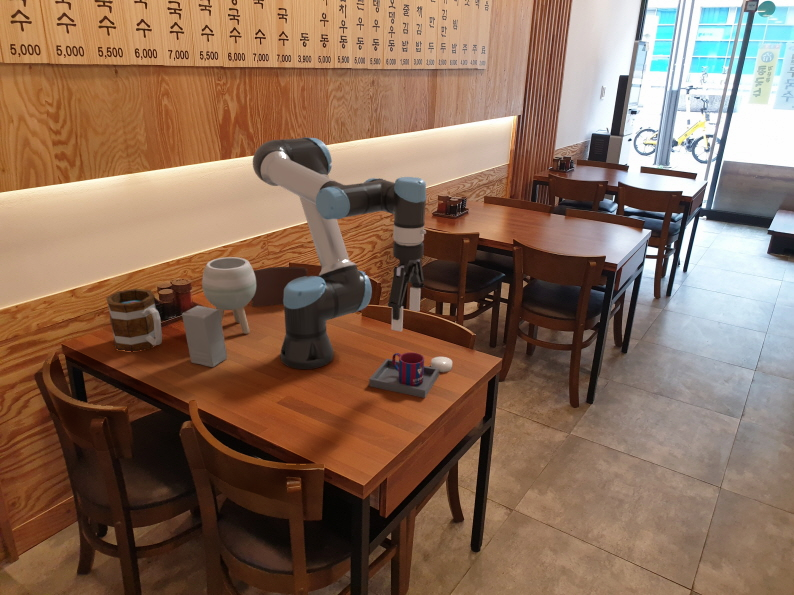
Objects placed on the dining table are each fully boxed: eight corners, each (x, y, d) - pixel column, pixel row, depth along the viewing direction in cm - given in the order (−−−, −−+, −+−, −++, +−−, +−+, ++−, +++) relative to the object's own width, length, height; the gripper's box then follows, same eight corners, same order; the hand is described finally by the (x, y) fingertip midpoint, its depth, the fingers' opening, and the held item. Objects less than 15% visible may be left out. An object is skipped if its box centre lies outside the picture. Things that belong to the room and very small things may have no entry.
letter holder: (308, 303, 209) (307, 266, 204) (252, 307, 204) (249, 269, 199) (305, 293, 218) (304, 257, 213) (251, 297, 213) (248, 260, 208)
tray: (369, 386, 155) (369, 379, 154) (386, 365, 166) (386, 358, 165) (424, 398, 150) (425, 390, 149) (438, 375, 161) (439, 368, 160)
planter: (242, 315, 197) (236, 252, 189) (269, 329, 187) (264, 263, 179) (198, 328, 186) (190, 262, 178) (224, 345, 176) (217, 275, 168)
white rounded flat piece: (428, 370, 164) (428, 364, 164) (434, 361, 170) (434, 355, 169) (448, 374, 162) (449, 368, 162) (454, 365, 168) (454, 358, 167)
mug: (104, 344, 175) (95, 298, 170) (145, 329, 185) (138, 285, 180) (141, 363, 165) (134, 314, 159) (183, 346, 175) (177, 300, 169)
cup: (409, 389, 153) (410, 366, 150) (385, 374, 160) (386, 352, 157) (428, 381, 157) (429, 358, 154) (404, 367, 164) (404, 345, 161)
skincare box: (227, 359, 168) (222, 308, 162) (210, 369, 162) (204, 317, 156) (205, 353, 171) (199, 303, 165) (187, 363, 165) (180, 311, 159)
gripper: (405, 257, 132) (403, 342, 140) (437, 231, 153) (433, 305, 161) (375, 253, 134) (374, 336, 142) (411, 227, 156) (408, 301, 164)
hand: (406, 320), depth 152 cm, fingers open, 13 cm apart
